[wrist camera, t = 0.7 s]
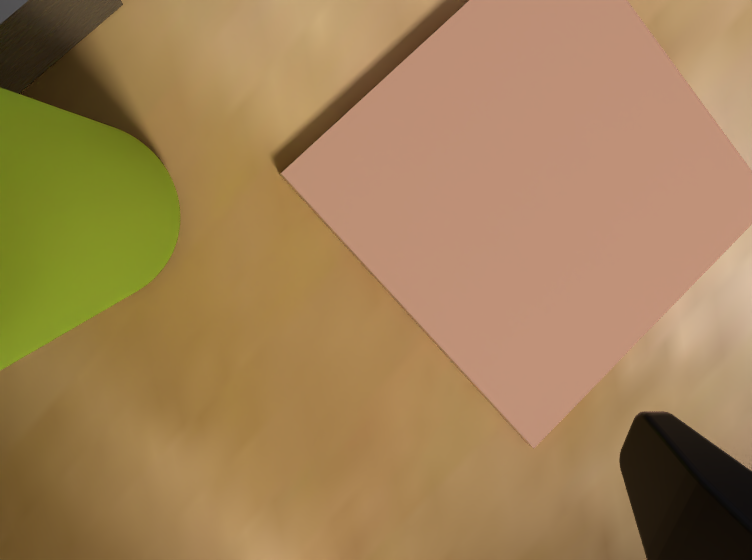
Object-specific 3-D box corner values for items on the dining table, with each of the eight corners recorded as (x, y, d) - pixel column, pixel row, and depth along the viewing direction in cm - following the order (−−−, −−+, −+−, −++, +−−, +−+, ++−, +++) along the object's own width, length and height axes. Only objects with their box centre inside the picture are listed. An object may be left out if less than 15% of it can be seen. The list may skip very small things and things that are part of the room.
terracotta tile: (527, 443, 26) (533, 448, 25) (279, 174, 23) (280, 173, 22) (762, 201, 27) (773, 201, 26) (556, -79, 24) (563, -87, 24)
